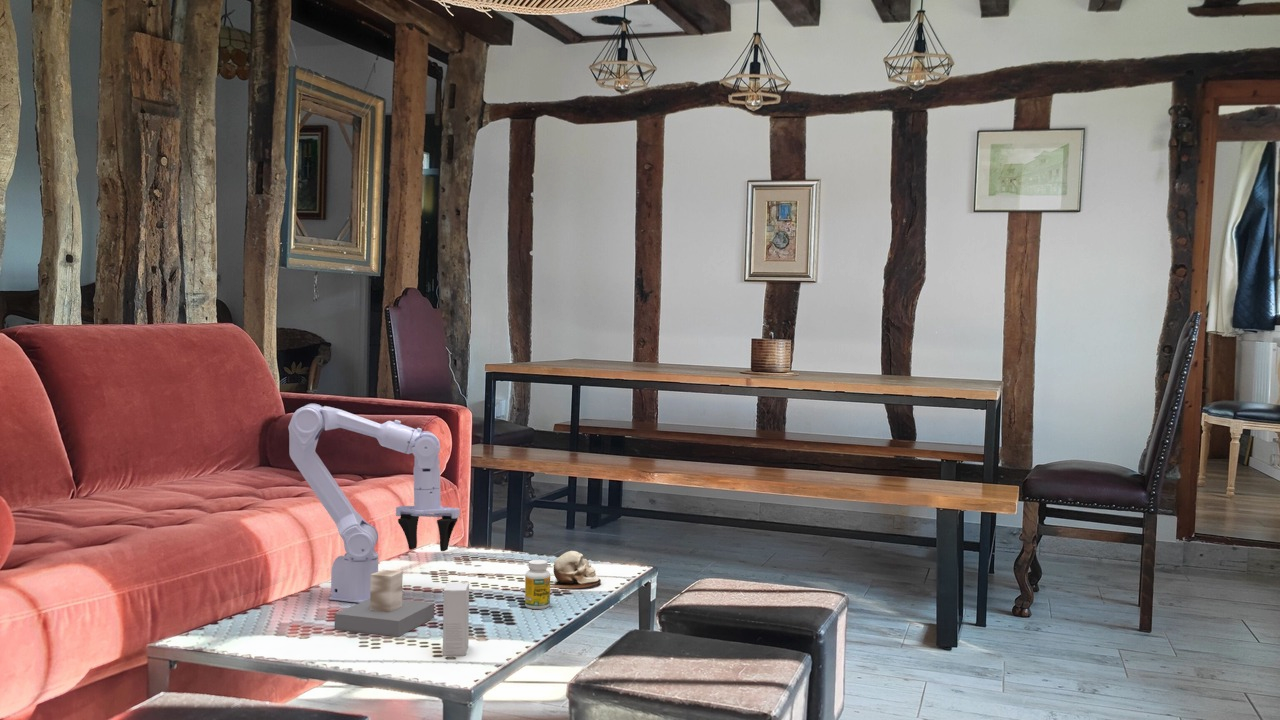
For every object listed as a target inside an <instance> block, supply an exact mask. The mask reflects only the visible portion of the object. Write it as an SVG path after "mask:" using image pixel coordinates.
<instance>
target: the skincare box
mask: <svg viewBox="0 0 1280 720" xmlns="http://www.w3.org/2000/svg"><path fill="white" fill-rule="evenodd" d="M442 599H443V600H442V601H443V609H442V610H443V611H442V613H443V615H442V621H443V623H442V624H443V625H442V656H447V657H448V656H450V657H451V656H458V657H459V656H462V657H463V656H466V655H467V653H468V652H467V651H468V648H469V637H470V636H469V634H470V633H469V629H470V628H469V623H470V622H469V621H470V619H469V618H470V617H469V616H470V615H469V613H470V610H469V608H470V582H469V581H467V582H466V581H463V582H461V581H449V582H448V581H447V582H446V583H445V587H444V589H443V598H442Z"/></svg>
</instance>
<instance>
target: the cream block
mask: <svg viewBox="0 0 1280 720" xmlns="http://www.w3.org/2000/svg"><path fill="white" fill-rule="evenodd" d="M403 575H404V574H403V571H401V570H398V571H397V570H388V569H381V570H378V572H376V573H373V574H371V586H370V610H376V611H385V612H392V611H394V610H396V609H398V608H400V607H402V600H403Z"/></svg>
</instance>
